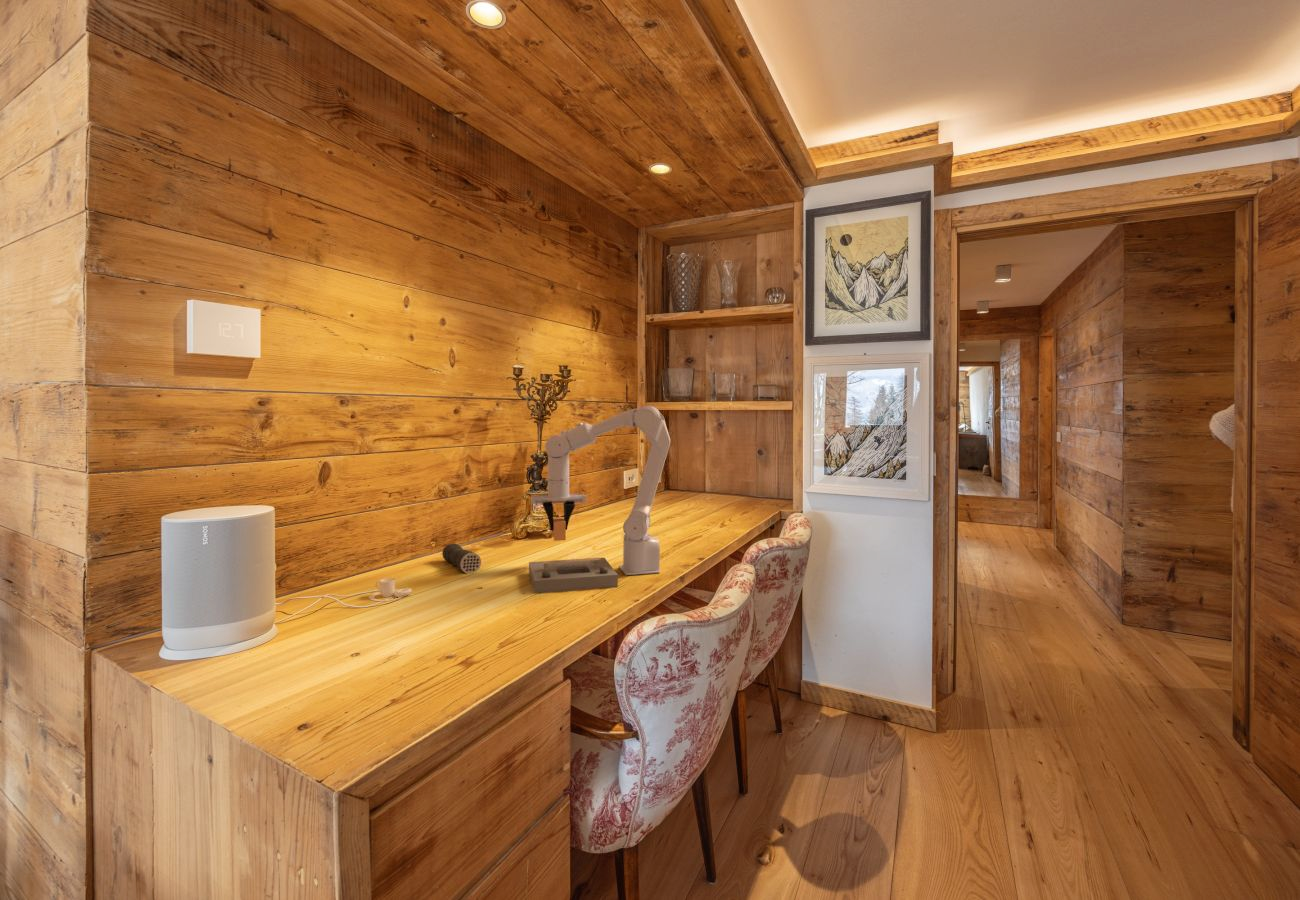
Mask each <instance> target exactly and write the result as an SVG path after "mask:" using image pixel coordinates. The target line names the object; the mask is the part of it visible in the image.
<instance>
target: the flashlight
mask: <svg viewBox="0 0 1300 900" xmlns="http://www.w3.org/2000/svg"><path fill="white" fill-rule="evenodd" d="M442 557H443V559H444V560H445V561H446V562H447V563H450V564H454V565H455V567H457V568H458V569H459V570H460V571H462V572H464V573H465V574H467V575H468V574H469V575H470V574H473V573H476V572H478V570H479V569H480V567H481V565H482V558H481V556H480V555H479V554H477V553H475V552H473V551H471V550H468V549H464V548H462V546H461V545H459V544H457V543H454V542H453V543H448V544H447V545H445V547H444V548H443V549H442Z"/></svg>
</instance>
